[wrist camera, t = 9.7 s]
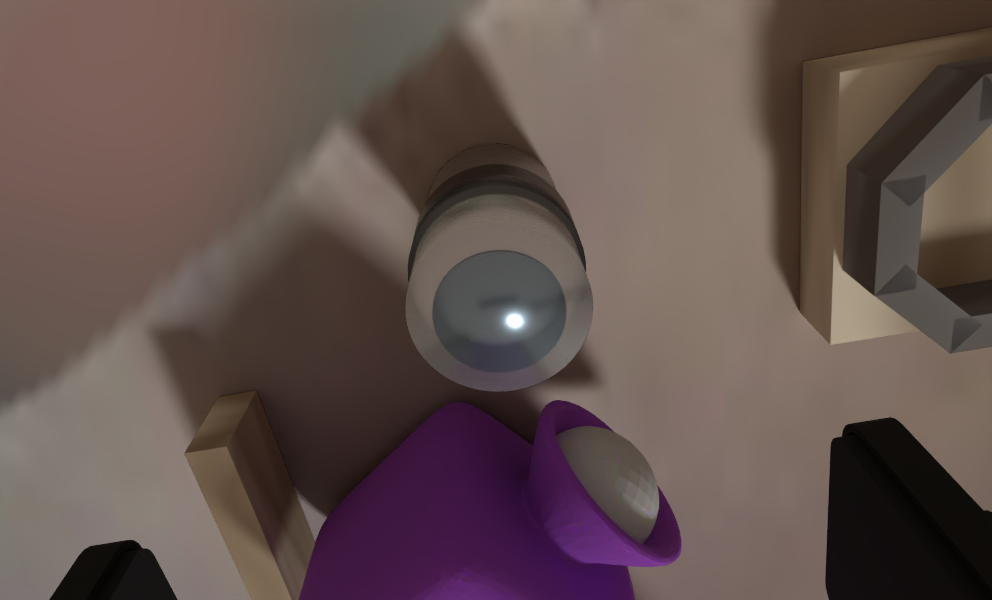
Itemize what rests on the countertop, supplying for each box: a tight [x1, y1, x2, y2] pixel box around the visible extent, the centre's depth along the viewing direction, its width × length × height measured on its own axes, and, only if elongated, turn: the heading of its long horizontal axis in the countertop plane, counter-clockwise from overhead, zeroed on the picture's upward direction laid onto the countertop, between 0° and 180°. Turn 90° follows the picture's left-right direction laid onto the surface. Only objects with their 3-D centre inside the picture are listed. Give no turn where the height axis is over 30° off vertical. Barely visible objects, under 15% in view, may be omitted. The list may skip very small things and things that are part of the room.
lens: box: [405, 143, 593, 392], centre depth 20 cm, size 5×5×8 cm
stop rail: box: [184, 391, 315, 600], centre depth 28 cm, size 2×14×4 cm, turn 10°
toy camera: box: [299, 400, 681, 600], centre depth 25 cm, size 11×14×10 cm
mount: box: [800, 27, 992, 353], centre depth 22 cm, size 9×9×4 cm
